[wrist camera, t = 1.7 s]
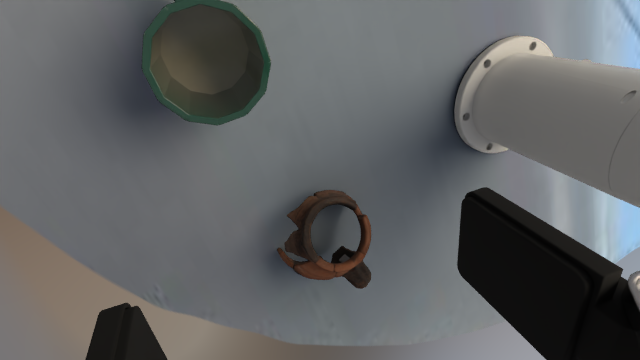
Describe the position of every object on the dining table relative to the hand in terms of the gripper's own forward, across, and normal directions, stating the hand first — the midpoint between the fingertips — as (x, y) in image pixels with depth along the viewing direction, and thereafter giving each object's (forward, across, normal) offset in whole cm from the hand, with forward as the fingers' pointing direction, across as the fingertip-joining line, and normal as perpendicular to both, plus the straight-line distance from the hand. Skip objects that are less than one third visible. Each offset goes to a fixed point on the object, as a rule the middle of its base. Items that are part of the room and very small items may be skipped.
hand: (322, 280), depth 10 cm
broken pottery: (+24, -6, +16) cm, 30 cm away
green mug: (+24, +1, -5) cm, 25 cm away
